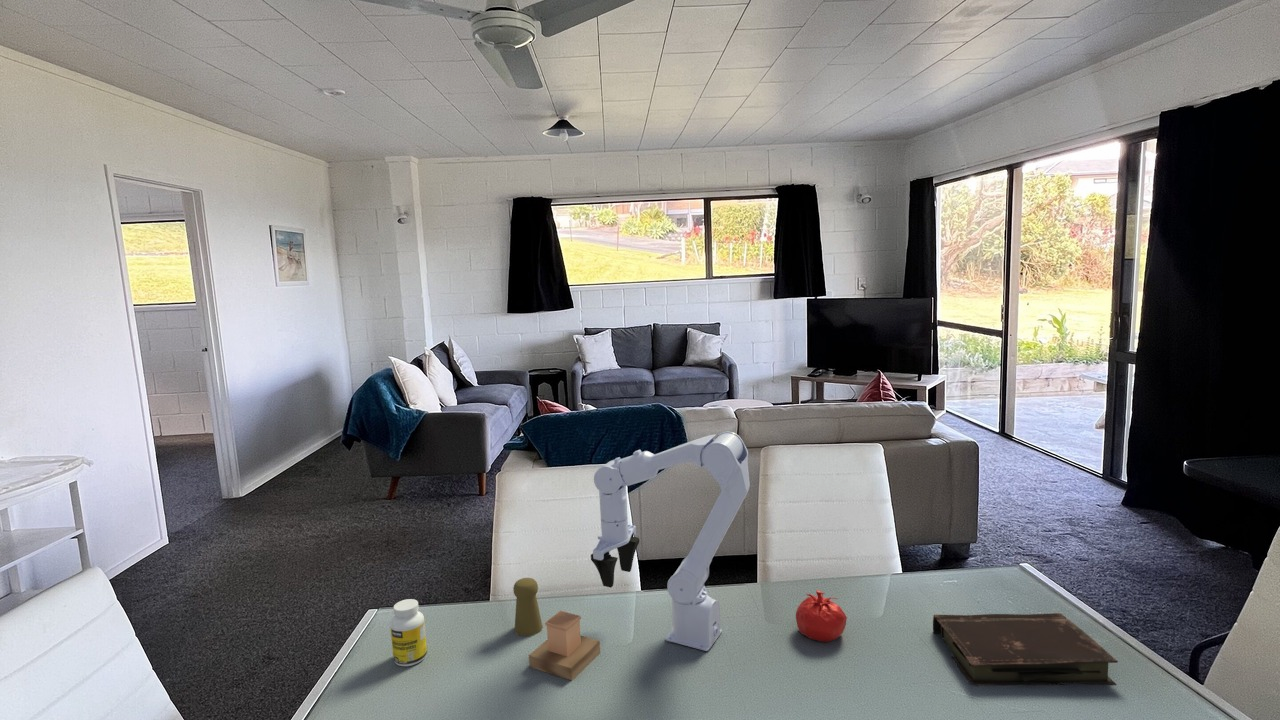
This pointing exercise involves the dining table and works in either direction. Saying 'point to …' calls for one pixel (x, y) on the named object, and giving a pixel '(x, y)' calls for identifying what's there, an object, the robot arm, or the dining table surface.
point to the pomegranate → (820, 618)
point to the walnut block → (565, 659)
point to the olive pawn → (527, 608)
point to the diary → (1023, 650)
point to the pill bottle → (408, 633)
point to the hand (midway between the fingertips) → (617, 578)
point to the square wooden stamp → (563, 633)
